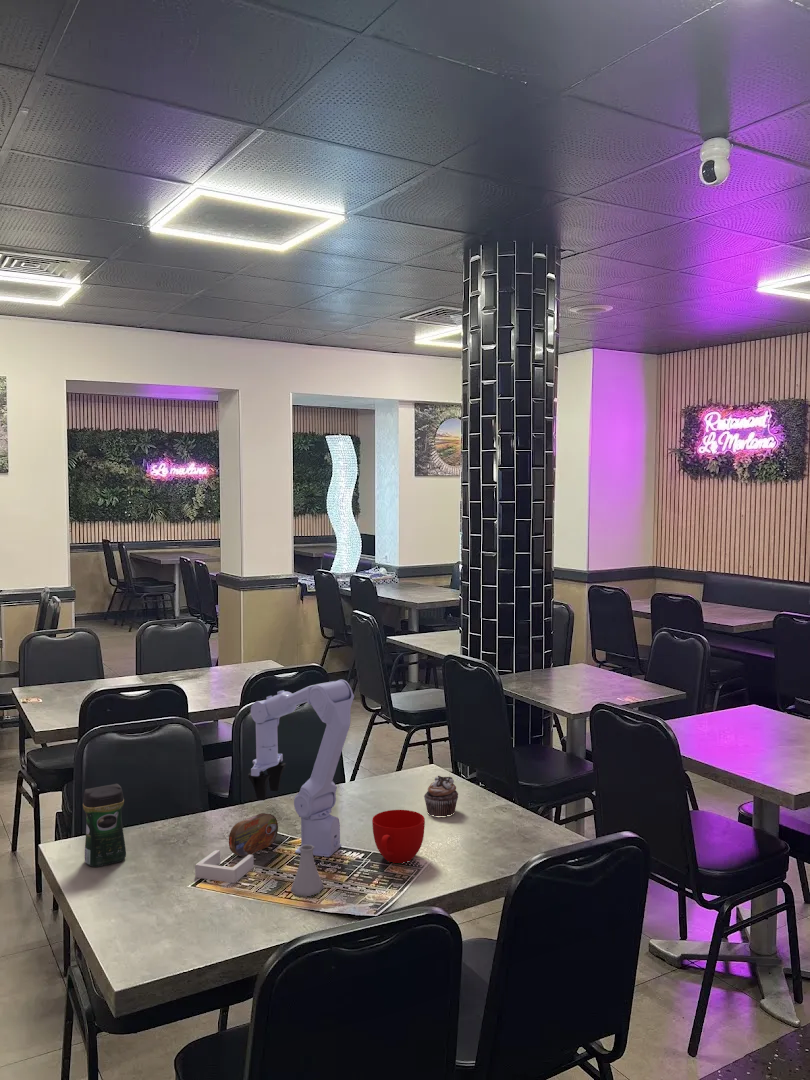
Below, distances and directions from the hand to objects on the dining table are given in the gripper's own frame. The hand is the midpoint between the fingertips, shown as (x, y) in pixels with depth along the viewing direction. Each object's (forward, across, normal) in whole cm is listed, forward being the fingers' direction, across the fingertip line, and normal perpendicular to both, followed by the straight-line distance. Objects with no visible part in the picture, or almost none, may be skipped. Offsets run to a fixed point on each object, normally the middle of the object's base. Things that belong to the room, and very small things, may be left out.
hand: (267, 795), depth 230 cm
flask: (+11, +29, +24) cm, 39 cm away
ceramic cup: (+11, +8, +39) cm, 41 cm away
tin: (+11, +11, +2) cm, 16 cm away
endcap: (+10, +25, +1) cm, 27 cm away
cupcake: (+11, -28, +40) cm, 50 cm away
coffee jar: (+10, +28, -31) cm, 43 cm away
